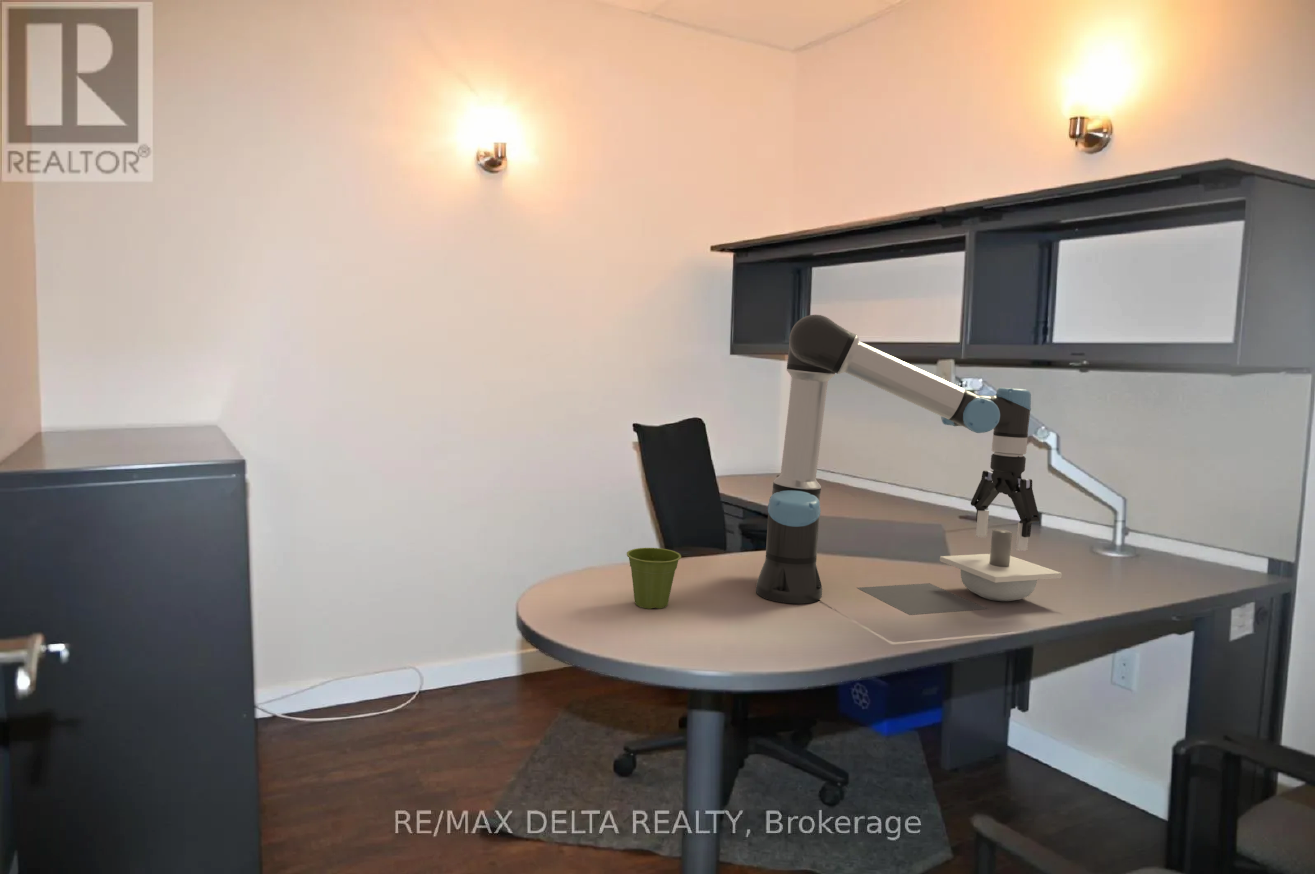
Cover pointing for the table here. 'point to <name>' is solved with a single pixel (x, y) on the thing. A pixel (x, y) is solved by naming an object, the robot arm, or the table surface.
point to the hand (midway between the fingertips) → (1000, 543)
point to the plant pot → (652, 575)
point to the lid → (1000, 562)
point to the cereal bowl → (997, 587)
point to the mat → (921, 599)
